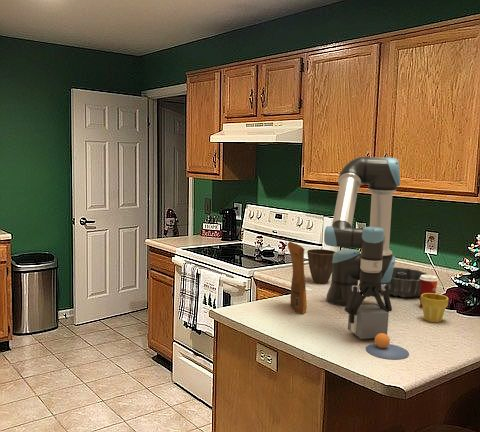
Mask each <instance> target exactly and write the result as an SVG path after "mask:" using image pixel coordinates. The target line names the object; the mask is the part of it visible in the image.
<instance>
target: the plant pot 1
mask: <svg viewBox="0 0 480 432" xmlns="http://www.w3.org/2000/svg"><path fill="white" fill-rule="evenodd" d="M335 252H336V251H335V250H331V249H322V248H321V249H320V248H313V249H308V250H307V260H308V268H309V271H310V272H309V273H310V275H311V279H312V282H313V283H314V282H316V283H315V284H318V283H320V284H319V285H326V284H329V281H330V279H331V277H332V261H333V254H334V253H335Z"/></svg>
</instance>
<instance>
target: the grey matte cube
mask: <svg viewBox="0 0 480 432" xmlns="http://www.w3.org/2000/svg"><path fill="white" fill-rule="evenodd" d="M355 314H356V315H357V325H356V333H353V332H352V331H351V323H350V322H349V316H350V314H349V313H348V319H347V320H348V321H347V330H349V331H350V332H351V333H353V334H354V335H355V336H356V337H358V338H359V339H361V340H362V339H375V337H376V335H378V334H380V333H384V334H386V335H387V336H388V331H389V329H388V327H389V315H390V312H389V313H388V312H386V311H385V310H383V309H381V308H380V307H379V305H376V304H361V305H360V307H359V308H358V310H357V312H356V313H355Z"/></svg>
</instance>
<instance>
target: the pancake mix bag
mask: <svg viewBox="0 0 480 432" xmlns="http://www.w3.org/2000/svg"><path fill="white" fill-rule="evenodd" d="M287 248H288V252H289V254H290V258H291V259H290V260H291V265H292V267H291V268H292V278H291V284H290V285H291V286H290V306H291V308H292V309H293V312H294V313H296V314H300V315H304V314H306V312H307V308H308V306H307V304H308V303H307V290H306V289H307V288H306V287H307V286H306V278H305V277H306V276H305V259H304V258H305V248H304V247H303V246H302V245H300V244H298V243H294V242H292V241H291V240H290V241H288V243H287Z"/></svg>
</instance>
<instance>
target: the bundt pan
mask: <svg viewBox="0 0 480 432" xmlns="http://www.w3.org/2000/svg"><path fill="white" fill-rule="evenodd" d="M421 275H430V274H429V273H427V272H423V271H421V270H417V269H411V268H407V267H397V266H394V269H393V274H392V278H391V281H390V282H388V283H383V282H381V285H383V284H386V285H388V286H389V289H388V293H389V296H391V295H392V296H394V297H398V296H399V297H402V298H406V297H408V298H409V299H410V298H413V297H414V298H417V297H420V277H421ZM379 292H381V293H382V290H381V289H380V290H379Z"/></svg>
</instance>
